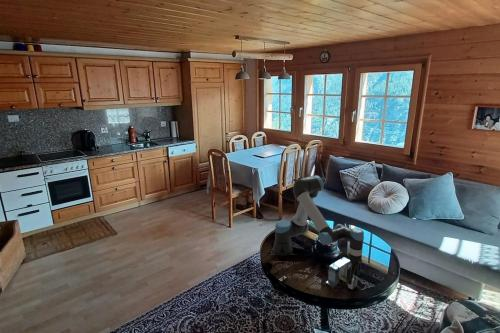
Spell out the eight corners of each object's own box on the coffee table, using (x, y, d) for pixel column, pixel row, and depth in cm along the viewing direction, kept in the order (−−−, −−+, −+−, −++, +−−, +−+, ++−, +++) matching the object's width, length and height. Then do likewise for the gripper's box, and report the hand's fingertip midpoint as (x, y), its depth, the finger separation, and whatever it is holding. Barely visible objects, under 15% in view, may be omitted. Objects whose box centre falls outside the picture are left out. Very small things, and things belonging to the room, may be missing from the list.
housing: (325, 283, 184) (326, 266, 181) (344, 271, 196) (345, 255, 193) (332, 287, 180) (334, 271, 177) (351, 275, 192) (352, 259, 189)
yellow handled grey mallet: (327, 274, 193) (328, 266, 191) (331, 272, 195) (331, 264, 193) (352, 289, 178) (353, 281, 177) (356, 286, 180) (357, 278, 179)
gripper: (352, 261, 166) (349, 295, 172) (368, 251, 177) (365, 283, 183) (341, 255, 172) (339, 289, 178) (357, 246, 182) (354, 278, 188)
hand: (352, 286), depth 180 cm, fingers closed on yellow handled grey mallet, 4 cm apart
